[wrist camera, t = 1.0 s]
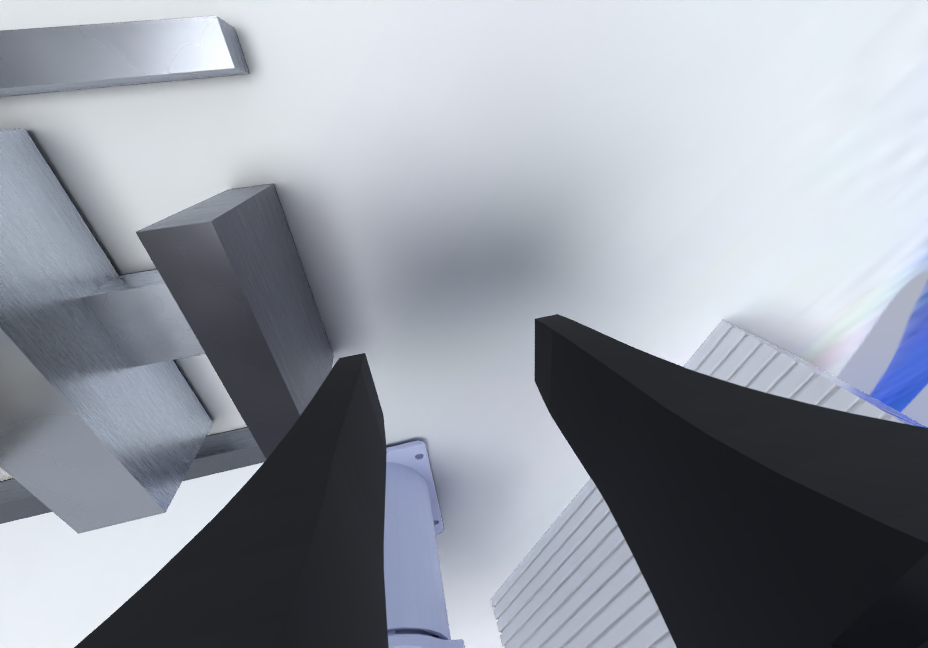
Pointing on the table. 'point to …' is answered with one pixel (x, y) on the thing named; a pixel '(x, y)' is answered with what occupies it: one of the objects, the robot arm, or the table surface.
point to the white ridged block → (601, 542)
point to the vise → (114, 64)
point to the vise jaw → (141, 341)
